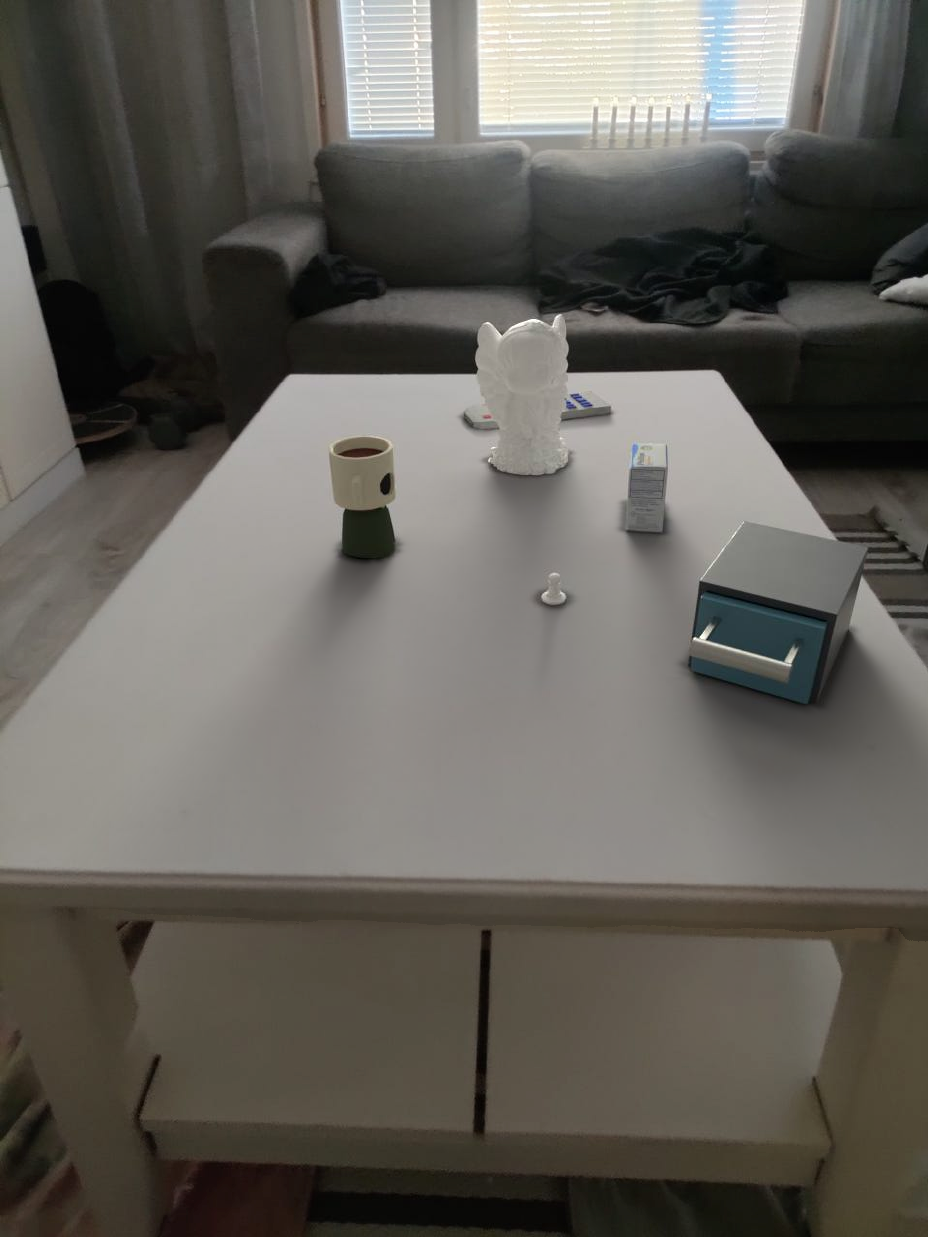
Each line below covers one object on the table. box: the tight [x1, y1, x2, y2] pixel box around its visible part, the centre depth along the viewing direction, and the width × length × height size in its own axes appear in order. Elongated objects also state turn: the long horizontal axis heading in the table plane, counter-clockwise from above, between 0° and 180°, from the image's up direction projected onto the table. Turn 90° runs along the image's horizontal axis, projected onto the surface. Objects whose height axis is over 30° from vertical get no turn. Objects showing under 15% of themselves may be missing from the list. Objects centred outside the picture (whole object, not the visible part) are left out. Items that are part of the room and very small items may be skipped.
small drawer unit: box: [687, 520, 869, 704], centre depth 82 cm, size 14×12×10 cm
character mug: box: [328, 435, 397, 560], centre depth 101 cm, size 11×7×13 cm, turn 178°
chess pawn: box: [541, 572, 567, 606], centre depth 92 cm, size 3×3×4 cm
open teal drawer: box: [688, 592, 827, 705], centre depth 79 cm, size 18×10×8 cm, turn 149°
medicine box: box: [625, 442, 669, 533], centre depth 107 cm, size 8×4×9 cm, turn 170°
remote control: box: [463, 390, 612, 430], centre depth 142 cm, size 8×23×2 cm, turn 107°
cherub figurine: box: [474, 314, 570, 476], centre depth 121 cm, size 13×12×20 cm
